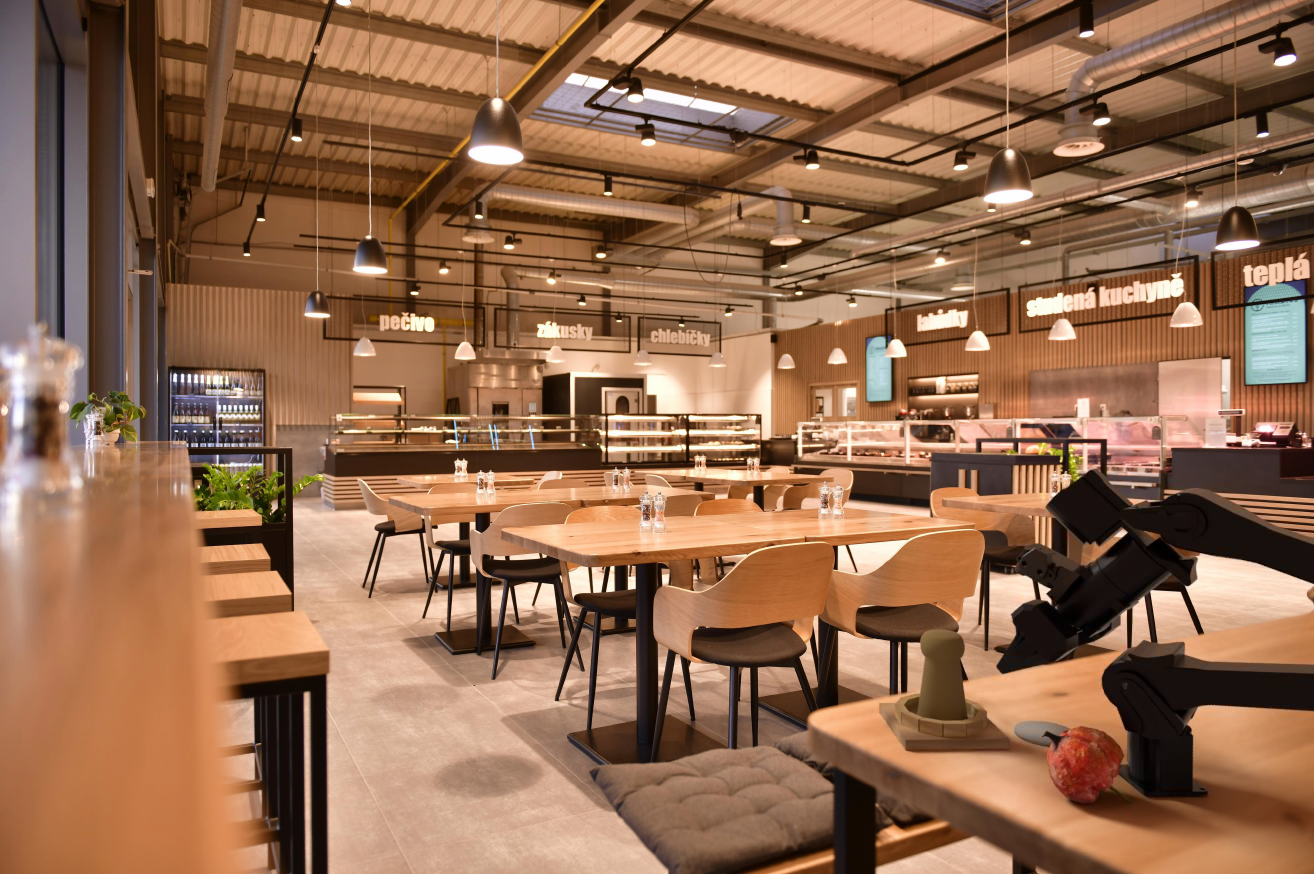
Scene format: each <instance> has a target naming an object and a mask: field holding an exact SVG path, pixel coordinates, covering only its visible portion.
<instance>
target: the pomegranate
mask: <svg viewBox="0 0 1314 874" xmlns="http://www.w3.org/2000/svg"><path fill="white" fill-rule="evenodd" d="M1044 736H1046V737H1049V738H1050V739H1051V740H1052V744H1051V746H1049V747H1048V750H1047V754H1046V764H1047V768H1048V774H1049V776H1050V779H1051V782H1052V784H1053V785H1054V786H1055V788H1056V789H1057V790H1058V791H1059V792H1060V793H1061V794H1062V795H1063V796H1064V797H1065V798H1067V799H1070V800H1071V801H1073V802H1076V803H1080V804H1081V805H1085V804H1093V803H1094V802H1096V800H1097V799H1098V797H1099V796H1100V791H1107V790H1108V789H1110V790H1111V791H1113V792H1114V793H1115V794H1117V795H1118V796H1120V797H1121V798H1122V799H1124V800H1125V801H1126V802H1127V803H1128V804H1130V805H1131V804H1133V802H1132V801H1131V800H1129V799H1128V798H1127V797H1126V796H1125V795H1124V794H1123V793H1122V792H1121V791H1119V790H1118V789H1116V788H1115V787H1114V786H1113V784H1114V778H1116V777H1118V775H1119V774H1118V772H1119V769H1120V764H1122V762H1123V759H1124V758H1125V754H1124V751H1123V749H1122V748H1121V746H1120V745H1119V743H1118V742H1117V741H1116V740H1115V739H1114V738H1113V737H1112V736H1111V735H1110V734H1108V733H1106V732H1105V731H1103V730H1099V729H1098V728H1093V727H1087V726H1081V725H1079V726H1076V727H1072V728H1070V730H1066V731H1063V732H1062V733H1061V734H1060V735H1059V736H1057V735H1055V734H1052V733H1050V732H1048V731H1046V732H1045V733H1044V734H1043V735H1042V737H1044Z"/></svg>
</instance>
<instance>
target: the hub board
mask: <svg viewBox="0 0 1314 874" xmlns="http://www.w3.org/2000/svg"><path fill="white" fill-rule="evenodd" d="M919 698H920V692H919V693H912V694H909V695H905V696H901V697H899V699H898V700H897V701H896V702H879V703H878V704H879V706H878V710H879V711H878V712H879V714H880V715H881V717H882V718H883V720H884V721H885V722H886V724H887V726H889V728H890V730H891V731H892V733H893V734H894V736H895V737H896V738H897V739H898V741H899V743H900V744H901V746H902V747H903V748H904V750H905V751H924V750H925V751H927V750H929V751H930V750H931V751H932V750H933V751H934V750H936V751H938V750H940V751H942V750H944V751H945V750H952V749H953V750H1009V749H1010V738H1009V737H1008V736H1007V735H1006V734H1005V733H1004V732H1003V731H1002V730H1001V729H1000V728H999V727H998V726H997V725H996V724H995V723H994V722H993V721H992V720H990V718H989V717H988V711H987V710H986V709H985V708H984V707H983V706H982V705H981V704H980V703H978V702H976V701H972V700H970V699H968V698H965V701H966V708H967V715H968V719H966V720H962V721H941V720H935V719H929V718H924V717H921V716H918V715H917V713H918V706H919ZM953 750H952V751H953Z"/></svg>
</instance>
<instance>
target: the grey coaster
mask: <svg viewBox="0 0 1314 874" xmlns="http://www.w3.org/2000/svg"><path fill="white" fill-rule="evenodd" d="M1070 729H1071V728H1070V727H1068V726H1066V725H1062V724H1059V723H1055V722H1049V721H1043V720H1026V721H1020V722H1018V723H1016V724H1015V725H1014V727H1013V731H1014V734H1015V735H1016V736H1017V737H1018V738H1019V739H1021V740H1024V741H1026V742H1027V743H1028V742H1029V743H1031V744H1035V745H1039V746H1045V747H1050V746H1051V744H1052V740H1051V739H1050V738H1049V737H1046V736H1044V737H1042V735H1043V734H1044V733H1045V732H1046V731H1048V732H1050V733H1052V734H1055V735H1057V736H1059V735H1060V734H1061V733H1062V732H1063V731H1066V730H1070Z"/></svg>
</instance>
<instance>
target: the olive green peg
mask: <svg viewBox="0 0 1314 874" xmlns="http://www.w3.org/2000/svg"><path fill="white" fill-rule="evenodd" d="M919 643H920V644H919V645H920V650H921V654H922V655H923V656H924V660H923V661H924V662H923V670H922V677H921V685H920V692H919V693H920V698H919V706H918V713H917V715H918V716H921V717H924V718H929V719H935V720H941V721H962V720H966V719H968V715H967V708H966V701H965V699H966V695H965V688H964V679H963V673H962V665H961V659H962V658H963V657H964V656H965V650H966V647H965V646H966V645H965V641H964V639H963V637H962V635H961V634H959V633H958V632H956V631H953V630H949V629H940V628H939V629H929V630H927V631H924V632H923V634H922V635H921V637H920V640H919Z"/></svg>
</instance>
